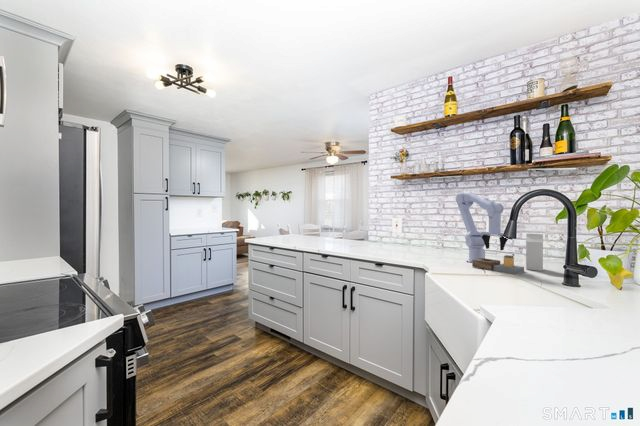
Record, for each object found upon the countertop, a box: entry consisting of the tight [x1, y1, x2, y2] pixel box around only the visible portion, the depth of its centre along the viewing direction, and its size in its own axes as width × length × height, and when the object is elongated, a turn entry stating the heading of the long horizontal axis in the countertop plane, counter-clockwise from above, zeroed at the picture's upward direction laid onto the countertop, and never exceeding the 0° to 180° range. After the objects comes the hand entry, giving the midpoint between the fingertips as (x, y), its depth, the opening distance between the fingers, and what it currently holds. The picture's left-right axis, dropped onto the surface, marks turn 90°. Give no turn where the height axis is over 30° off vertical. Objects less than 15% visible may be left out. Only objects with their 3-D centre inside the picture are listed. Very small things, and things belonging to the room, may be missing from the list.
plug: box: [503, 255, 515, 268], centre depth 151 cm, size 3×3×8 cm
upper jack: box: [471, 257, 501, 271], centre depth 161 cm, size 10×10×4 cm
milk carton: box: [525, 233, 544, 272], centre depth 155 cm, size 7×7×19 cm
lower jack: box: [493, 263, 525, 275], centre depth 151 cm, size 10×10×2 cm
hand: (494, 249), depth 162 cm, fingers open, 7 cm apart
